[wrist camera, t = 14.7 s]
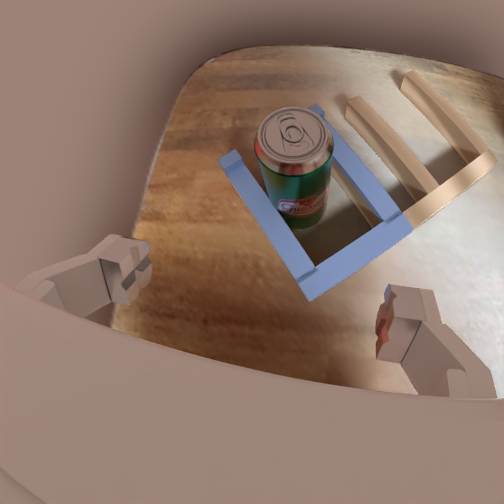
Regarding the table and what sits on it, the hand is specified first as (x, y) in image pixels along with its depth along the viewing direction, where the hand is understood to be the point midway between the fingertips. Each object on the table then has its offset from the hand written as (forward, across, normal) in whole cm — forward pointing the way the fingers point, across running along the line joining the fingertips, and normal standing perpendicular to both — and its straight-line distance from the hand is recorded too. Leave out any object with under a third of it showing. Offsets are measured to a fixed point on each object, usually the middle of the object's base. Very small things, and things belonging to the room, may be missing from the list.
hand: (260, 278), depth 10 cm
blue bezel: (+17, -1, +4) cm, 18 cm away
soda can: (+20, +1, +6) cm, 21 cm away
